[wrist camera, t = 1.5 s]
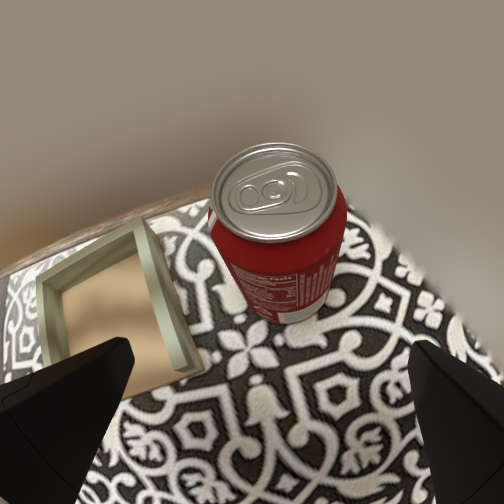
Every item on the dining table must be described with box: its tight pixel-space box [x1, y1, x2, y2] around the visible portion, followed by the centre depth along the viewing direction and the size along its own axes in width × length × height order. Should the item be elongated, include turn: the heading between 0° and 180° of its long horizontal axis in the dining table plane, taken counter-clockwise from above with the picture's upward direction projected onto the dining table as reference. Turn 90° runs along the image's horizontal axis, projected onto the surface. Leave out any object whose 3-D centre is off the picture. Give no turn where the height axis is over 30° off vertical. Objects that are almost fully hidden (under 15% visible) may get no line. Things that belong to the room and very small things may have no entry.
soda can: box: [208, 142, 347, 324], centre depth 18 cm, size 7×7×12 cm
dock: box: [36, 216, 205, 401], centre depth 22 cm, size 13×13×4 cm
